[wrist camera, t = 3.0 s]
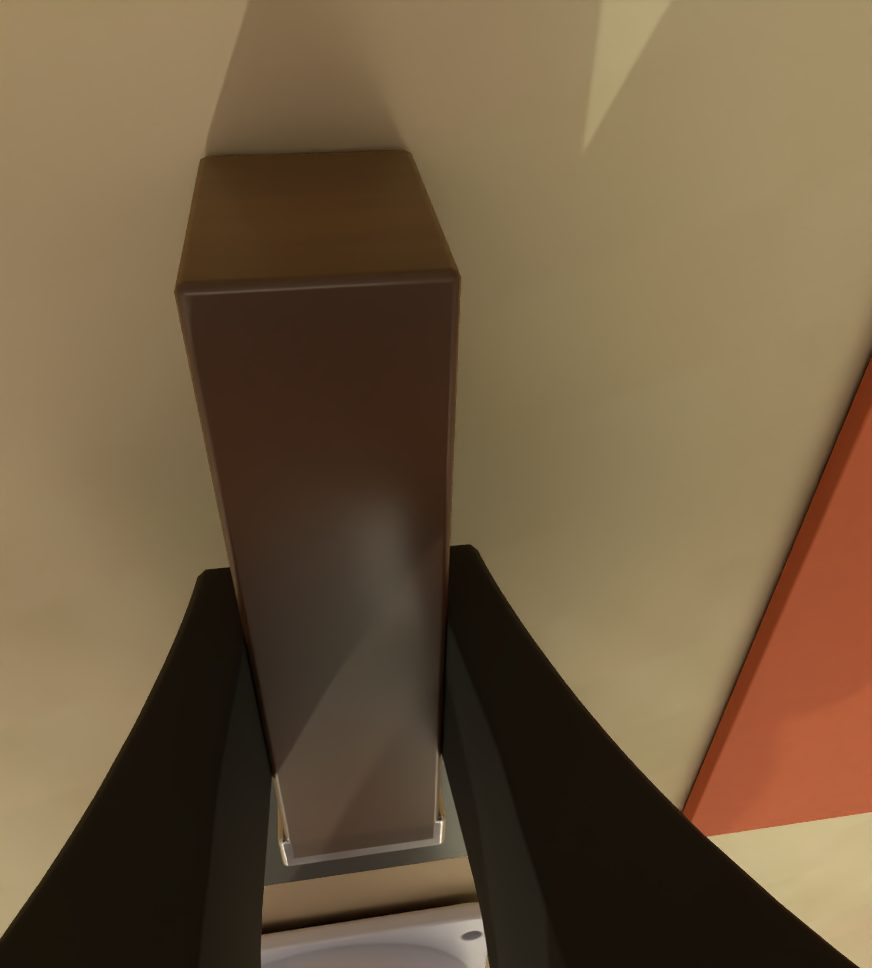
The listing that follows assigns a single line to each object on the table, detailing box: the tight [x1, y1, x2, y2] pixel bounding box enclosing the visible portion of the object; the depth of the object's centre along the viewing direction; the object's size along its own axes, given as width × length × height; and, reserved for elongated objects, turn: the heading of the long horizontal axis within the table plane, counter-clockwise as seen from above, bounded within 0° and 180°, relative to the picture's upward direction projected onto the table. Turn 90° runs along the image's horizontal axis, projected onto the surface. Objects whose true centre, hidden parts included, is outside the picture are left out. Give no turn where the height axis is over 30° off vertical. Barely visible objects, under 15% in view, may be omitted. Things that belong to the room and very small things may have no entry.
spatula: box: [174, 150, 468, 886], centre depth 12 cm, size 15×5×3 cm, turn 179°
